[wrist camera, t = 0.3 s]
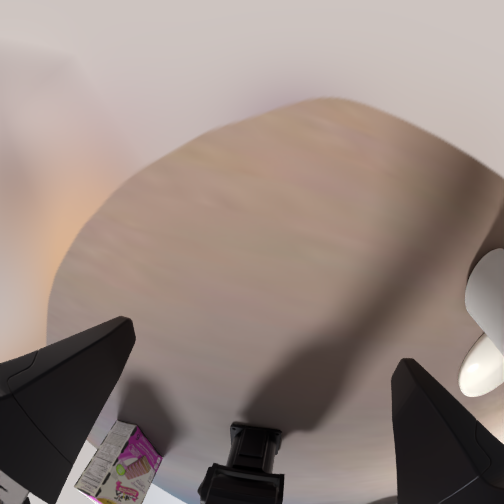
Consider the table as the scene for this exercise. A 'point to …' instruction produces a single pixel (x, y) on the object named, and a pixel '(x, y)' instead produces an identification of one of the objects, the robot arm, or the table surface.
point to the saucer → (481, 368)
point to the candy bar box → (120, 467)
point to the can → (488, 296)
